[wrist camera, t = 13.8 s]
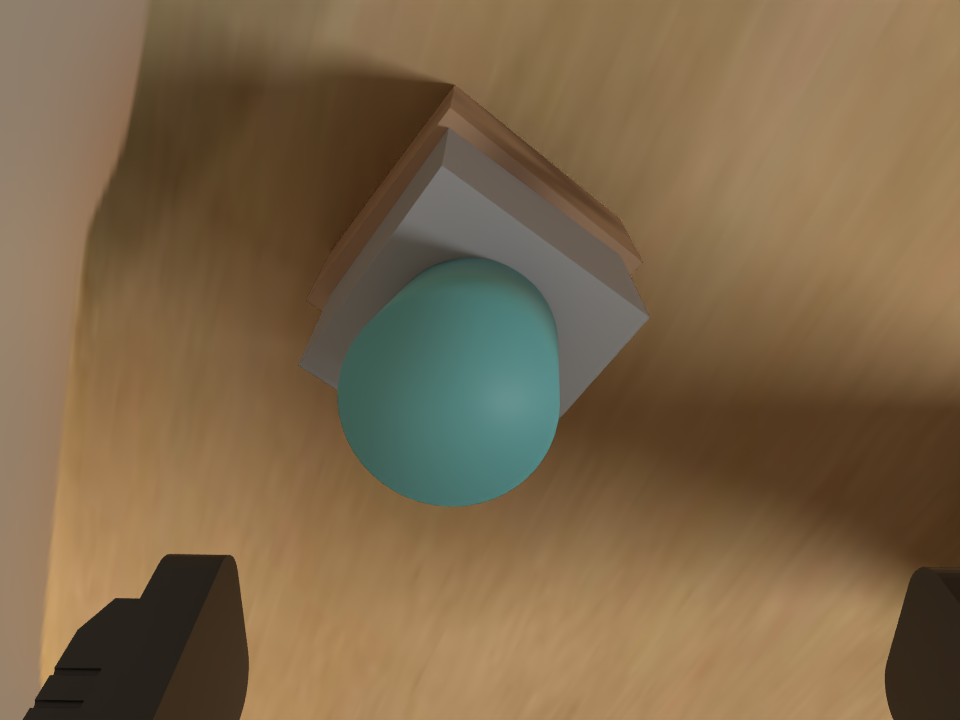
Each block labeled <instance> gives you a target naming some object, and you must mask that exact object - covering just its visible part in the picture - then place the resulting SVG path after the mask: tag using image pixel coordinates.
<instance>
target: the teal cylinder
mask: <svg viewBox="0 0 960 720" xmlns="http://www.w3.org/2000/svg"><path fill="white" fill-rule="evenodd" d="M338 409H339V416H340V420H341V424H342V428H343V430H344V433H345V436H346V438H347V441H348V442H349V444H350V446H351V448H352V450H353V452H354V453H355V455H356V456H357V457H358V459H359V460H360V462H361V463H362V464H363V465H364V466H365V468H366V469H367V470H368V471H369V472H370V473H371V474H372V475H373V476H374V477H376V478H377V479H378V480H379V481H380V482H382V483H383V484H384V485H386V486H387V487H389V488H390V489H392V490H393V491H395V492H397V493H399V494H401V495H403V496H405V497H407V498H410V499H413V500H416V501H419V502H422V503H427V504H431V505H437V506H448V507H451V506H467V505H474V504H479V503H482V502H486V501H489V500H492V499H494V498H497V497H499V496H501V495H503V494H505V493H507V492H509V491H510V490H512V489H514V488H515V487H516V486H518V485H519V484H520V483H522V482H523V481H524V480H525V479H526V478H527V477H528V476H529V475H530V474H531V473H532V472H533V471H534V470H535V469H536V468H537V467H538V465H539V464H540V463H541V461H542V460H543V459H544V457H545V455H546V453H547V451H548V450H549V448H550V446H551V443H552V441H553V438H554V436H555V433H556V428H557V424H558V420H559V409H560V392H559V349H558V332H557V327H556V322H555V319H554V316H553V313H552V311H551V309H550V307H549V305H548V303H547V301H546V300H545V298H544V297H543V295H542V293H541V292H540V291H539V290H538V289H537V288H536V286H535V285H534V284H533V283H532V282H531V281H529V280H528V279H527V278H526V277H525V276H524V275H522V274H521V273H519V272H518V271H516V270H514V269H512V268H511V267H509V266H507V265H504V264H502V263H499V262H496V261H492V260H488V259H483V258H458V259H452V260H448V261H445V262H442V263H439V264H436V265H434V266H432V267H430V268H428V269H426V270H425V271H423V272H421V273H420V274H418V275H417V276H416V277H415V278H414V279H413V280H411V281H410V282H409V283H408V284H407V285H406V286H405V287H404V288H403V289H402V290H401V291H400V292H399V293H398V294H397V295H396V296H395V297H394V298H393V299H392V300H391V301H390V302H389V303H388V304H387V305H386V306H385V307H384V308H383V309H382V310H381V311H380V312H379V313H378V314H377V315H376V316H375V317H374V318H373V319H372V320H371V321H370V322H369V323H368V324H367V325H366V326H365V327H364V328H363V329H362V330H361V332H360V333H359V334H358V335H357V337H356V338H355V340H354V341H353V343H352V344H351V346H350V348H349V350H348V352H347V354H346V356H345V359H344V361H343V365H342V368H341V371H340V376H339V382H338Z"/></svg>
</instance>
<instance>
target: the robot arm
mask: <svg viewBox="0 0 960 720" xmlns="http://www.w3.org/2000/svg"><path fill="white" fill-rule="evenodd" d="M248 672H249V656H248V647H247V639H246V632H245V624H244V616H243V608H242V601H241V593H240V585H239V577H238V570H237V565H236V562H235V559H234V558H233V556H231V555H194V554H167V555H166V556H164V557H163V558H162V560H161V561H160V563H159V564H158V566H157V568H156V570H155V572H154V574H153V575H152V577H151V579H150V581H149V583H148V585H147V586H146V588H145V590H144V592H143V594H142V596H141V597H140V599H132V598H115V599H114V600H113V601H112V602H110V603H109V604H108V605H107V606H106V607H104V608H103V609H102V610H101V611H100V612H99V613H97V614H96V615H95V616H94V617H93V618H91V619H90V620H89V621H88V622H87V623H85V624H84V625H83V626H82V627H81V628H79V629H78V630H77V632H76V634H75V635H74V637H73V638H72V640H71V642H70V643H69V645H68V647H67V648H66V650H65V651H64V653H63V655H62V656H61V658H60V660H59V661H58V663H57V665H56V666H55V672H54V675H50V676H49V678H48V679H47V681H46V682H45V684H44V686H43V687H42V689H41V691H40V692H39V694H38V696H37V697H36V699H35V706H34V708H30V709H29V710H28V712H27V713H26V715H25V717H24V718H23V720H239V719H240V716H241V713H242V710H243V706H244V702H245V697H246V691H247V684H248ZM885 690H886V697H887V701H888V705H889V709H890V712H891V715H892V717H893V720H960V568H944V567H922V568H919V569H918V570H916V571H915V572H914V574H913V575H912V577H911V579H910V582H909V585H908V589H907V592H906V596H905V599H904V603H903V606H902V610H901V614H900V617H899V621H898V624H897V628H896V631H895V635H894V638H893V642H892V646H891V649H890V653H889V656H888V660H887V664H886V669H885Z"/></svg>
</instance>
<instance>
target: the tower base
mask: <svg viewBox="0 0 960 720" xmlns="http://www.w3.org/2000/svg"><path fill="white" fill-rule="evenodd" d="M448 128H450V129H451V130H453V131H454V132H456V133H457V134H458V135H460V136H461V137H462V138H464V139H465V140H466V141H468V142H469V143H470V144H472V145H473V146H474V147H476V148H477V149H478V150H480V151H481V152H482V153H484V154H485V155H486V156H488V157H489V158H490V159H492V160H493V161H494V162H496V163H497V164H498V165H500V166H501V167H502V168H504V169H505V170H506V171H508V172H509V173H510V174H512V175H513V176H514V177H516V178H517V179H518V180H520V181H521V182H522V183H524V184H525V185H526V186H528V187H529V188H530V189H532V190H533V191H534V192H536V193H537V194H539V195H540V196H541V197H543V198H544V199H545V200H547V201H548V202H549V203H551V204H552V205H553V206H555V207H556V208H557V209H559V210H560V211H561V212H563V213H564V214H565V215H567V216H568V217H569V218H571V219H572V220H573V221H575V222H576V223H577V224H579V225H580V226H581V227H583V228H584V229H585V230H587V231H588V232H589V233H591V234H592V235H593V236H595V237H596V238H597V239H599V240H600V241H601V242H603V243H604V244H605V245H607V246H608V247H609V248H611V249H612V250H613V251H615V252H616V253H617V254H619V255H620V256H621V258H622V260H623V262H624V264H625V266H626V268H627V270H628V273H629V275H630V276H631V275H632V274H633V273H634V272H635V271H636V270H637V268H638V267H639V266H640V265H641V264H642V263H643V261H642V259H641V257H640V256H639V254H638V252H637V250H636V248H635V246H634V244H633V243H632V241H631V239H630V237H629V235H628V233H627V232H626V230H625V228H624V226H623V224H622V222H621V220H620V219H619V218H618V217H617V216H616V215H614V214H613V213H612V212H611V211H610V210H608V209H607V208H606V207H605V206H603V205H602V204H601V203H600V202H598V201H597V200H596V199H595V198H594V197H592V196H591V195H590V194H589V193H587V192H586V191H585V190H584V189H582V188H581V187H580V186H579V185H578V184H576V183H575V182H574V181H573V180H571V179H570V178H569V177H568V176H566V175H565V174H564V173H563V172H561V171H560V170H559V169H558V168H557V167H555V166H554V165H553V164H552V163H550V162H549V161H548V160H547V159H545V158H544V157H543V156H542V155H541V154H539V153H538V152H537V151H536V150H534V149H533V148H532V147H531V146H529V145H528V144H527V143H526V142H525V141H523V140H522V139H521V138H520V137H518V136H517V135H516V134H515V133H513V132H512V131H511V130H510V129H509V128H507V127H506V126H505V125H504V124H502V123H501V122H500V121H499V120H497V119H496V118H495V117H494V116H493V115H491V114H490V113H489V112H488V111H486V110H485V109H484V108H483V107H481V106H480V105H479V104H478V103H477V102H475V101H474V100H473V99H472V98H470V97H469V96H468V95H467V94H465V93H464V92H463V91H462V90H461V89H459V88H458V87H457V86H456V85H454V86H453V88H452V89H451V90H450V92H449V93H448V94H447V96H446V97H445V98H444V100H443V101H442V102H441V104H440V105H439V106H438V108H437V109H436V110H435V112H434V113H433V115H432V116H431V117H430V119H429V120H428V121H427V123H426V124H425V125H424V127H423V128H422V129H421V131H420V132H419V133H418V135H417V136H416V137H415V139H414V140H413V141H412V143H411V144H410V145H409V147H408V148H407V149H406V151H405V152H404V154H403V155H402V156H401V158H400V159H399V160H398V162H397V163H396V164H395V166H394V167H393V168H392V170H391V171H390V172H389V174H388V175H387V176H386V178H385V179H384V180H383V182H382V183H381V184H380V186H379V187H378V188H377V190H376V191H375V193H374V194H373V195H372V197H371V198H370V199H369V201H368V202H367V203H366V205H365V206H364V207H363V209H362V210H361V211H360V213H359V214H358V215H357V217H356V218H355V219H354V221H353V222H352V223H351V225H350V226H349V228H348V229H347V230H346V232H345V233H344V234H343V236H342V237H341V238H340V240H339V241H338V242H337V244H336V245H335V246H334V248H333V249H332V250H331V252H330V254H329V256H328V257H327V259H326V261H325V263H324V265H323V267H322V269H321V271H320V273H319V275H318V277H317V279H316V281H315V283H314V285H313V287H312V289H311V291H310V293H309V295H308V297H307V299H306V301H308V302H309V303H310V304H312V305H313V306H315V307H316V308H318V309H319V310H321V311H323V309H324V306H325V304H326V302H327V300H328V297H329V296H330V294H331V293H332V292H333V290H334V289H335V287H336V286H337V285H338V283H339V282H340V280H341V279H342V278H343V276H344V275H345V273H346V272H347V271H348V269H349V268H350V266H351V265H352V264H353V262H354V261H355V259H356V258H357V256H358V255H359V254H360V252H361V251H362V249H363V248H364V247H365V245H366V244H367V242H368V241H369V240H370V238H371V237H372V235H373V234H374V233H375V231H376V230H377V228H378V227H379V225H380V224H381V223H382V221H383V220H384V218H385V217H386V216H387V214H388V213H389V211H390V210H391V209H392V207H393V206H394V204H395V203H396V202H397V200H398V199H399V197H400V196H401V195H402V193H403V192H404V190H405V189H406V187H407V186H408V185H409V183H410V182H411V180H412V179H413V178H414V176H415V175H416V173H417V172H418V171H419V169H420V168H421V166H422V165H423V164H424V162H425V161H426V159H427V158H428V156H429V155H430V154H431V152H432V151H433V149H434V148H435V147H436V145H437V144H438V142H439V141H440V140H441V138H442V137H443V135H444V134H445V133H446V131H447V130H448Z"/></svg>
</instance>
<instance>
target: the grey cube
mask: <svg viewBox="0 0 960 720" xmlns="http://www.w3.org/2000/svg"><path fill="white" fill-rule="evenodd" d="M458 258H483V259H488V260H492V261H496V262H499V263H502V264H504V265H507V266H509V267H511V268H512V269H514V270H516V271H518V272H519V273H521V274H522V275H524V276H525V277H526V278H527V279H528V280H529V281H531V282H532V283H533V284H534V285H535V286H536V288H537V289H538V290H539V291H540V292H541V293H542V295H543V297H544V298H545V300H546V301H547V303H548V305H549V307H550V309H551V311H552V313H553V316H554V319H555V322H556V327H557V332H558V349H559V392H560V409H559V419H560V418H561V417H562V416H563V414H564V413H565V412H566V411H567V410H568V409H569V408H570V407H571V405H572V404H573V403H574V402H575V401H576V400H577V399H578V398H579V396H580V395H581V394H582V393H583V392H584V391H585V390H586V389H587V387H588V386H589V385H590V384H591V383H592V382H593V381H594V380H595V378H596V377H597V376H598V375H599V374H600V373H601V372H602V371H603V369H604V368H605V367H606V366H607V365H608V364H609V363H610V362H611V360H612V359H613V358H614V357H615V356H616V355H617V354H618V353H619V351H620V350H621V349H622V348H623V347H624V346H625V345H626V344H627V342H628V341H629V340H630V339H631V338H632V337H633V336H634V335H635V333H636V332H637V331H638V330H639V329H640V328H641V327H642V326H643V324H644V323H645V322H646V321H647V320H648V319H649V318H650V317H649V315H648V312H647V310H646V308H645V306H644V304H643V302H642V300H641V298H640V296H639V294H638V291H637V289H636V287H635V285H634V283H633V281H632V279H631V277H630V275H629V273H628V270H627V268H626V266H625V264H624V262H623V260H622V258H621V256H620V255H619V254H617V253H616V252H615V251H613V250H612V249H611V248H609V247H608V246H607V245H605V244H604V243H603V242H601V241H600V240H599V239H597V238H596V237H595V236H593V235H592V234H591V233H589V232H588V231H587V230H585V229H584V228H583V227H581V226H580V225H579V224H577V223H576V222H575V221H573V220H572V219H571V218H569V217H568V216H567V215H565V214H564V213H563V212H561V211H560V210H559V209H557V208H556V207H555V206H553V205H552V204H551V203H549V202H548V201H547V200H545V199H544V198H543V197H541V196H540V195H539V194H537V193H536V192H534V191H533V190H532V189H530V188H529V187H528V186H526V185H525V184H524V183H522V182H521V181H520V180H518V179H517V178H516V177H514V176H513V175H512V174H510V173H509V172H508V171H506V170H505V169H504V168H502V167H501V166H500V165H498V164H497V163H496V162H494V161H493V160H492V159H490V158H489V157H488V156H486V155H485V154H484V153H482V152H481V151H480V150H478V149H477V148H476V147H474V146H473V145H472V144H470V143H469V142H468V141H466V140H465V139H464V138H462V137H461V136H460V135H458V134H457V133H456V132H454V131H453V130H451V129H450V128H448V130H447V131H446V133H445V134H444V135H443V137H442V138H441V140H440V141H439V142H438V144H437V145H436V147H435V148H434V149H433V151H432V152H431V154H430V155H429V156H428V158H427V159H426V161H425V162H424V164H423V165H422V166H421V168H420V169H419V171H418V172H417V173H416V175H415V176H414V178H413V179H412V180H411V182H410V183H409V185H408V186H407V187H406V189H405V190H404V192H403V193H402V195H401V196H400V197H399V199H398V200H397V202H396V203H395V204H394V206H393V207H392V209H391V210H390V211H389V213H388V214H387V216H386V217H385V218H384V220H383V221H382V223H381V224H380V225H379V227H378V228H377V230H376V231H375V233H374V234H373V235H372V237H371V238H370V240H369V241H368V242H367V244H366V245H365V247H364V248H363V249H362V251H361V252H360V254H359V255H358V256H357V258H356V259H355V261H354V262H353V264H352V265H351V266H350V268H349V269H348V271H347V272H346V273H345V275H344V276H343V278H342V279H341V280H340V282H339V283H338V285H337V286H336V287H335V289H334V290H333V292H332V293H331V294H330V296H329V297H328V300H327V302H326V304H325V306H324V309H323V311H322V313H321V315H320V318H319V320H318V322H317V324H316V326H315V329H314V331H313V333H312V335H311V338H310V340H309V342H308V344H307V347H306V349H305V351H304V353H303V356H302V358H301V360H300V362H299V365H298V366H300V367H301V368H303V369H305V370H306V371H308V372H309V373H311V374H313V375H314V376H316V377H317V378H319V379H321V380H322V381H324V382H325V383H327V384H329V385H330V386H332V387H333V388H335V389H336V390H338V382H339V376H340V371H341V368H342V365H343V361H344V359H345V356H346V354H347V352H348V350H349V348H350V346H351V344H352V343H353V341H354V340H355V338H356V337H357V335H358V334H359V333H360V332H361V330H362V329H363V328H364V327H365V326H366V325H367V324H368V323H369V322H370V321H371V320H372V319H373V318H374V317H375V316H376V315H377V314H378V313H379V312H380V311H381V310H382V309H383V308H384V307H385V306H386V305H387V304H388V303H389V302H390V301H391V300H392V299H393V298H394V297H395V296H396V295H397V294H398V293H399V292H400V291H401V290H402V289H403V288H404V287H405V286H406V285H407V284H408V283H409V282H410V281H411V280H413V279H414V278H415V277H416V276H417V275H418V274H420V273H421V272H423V271H425V270H426V269H428V268H430V267H432V266H434V265H436V264H439V263H442V262H445V261H448V260H452V259H458Z"/></svg>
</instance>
